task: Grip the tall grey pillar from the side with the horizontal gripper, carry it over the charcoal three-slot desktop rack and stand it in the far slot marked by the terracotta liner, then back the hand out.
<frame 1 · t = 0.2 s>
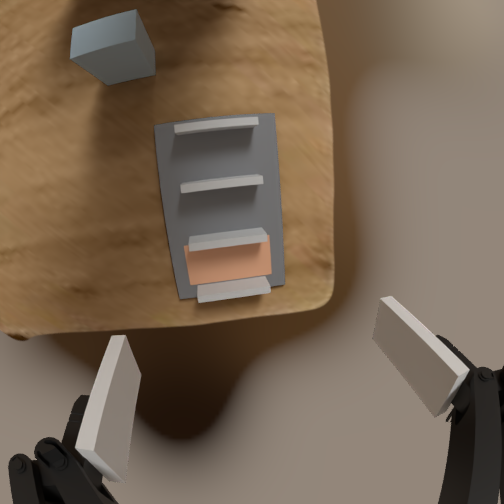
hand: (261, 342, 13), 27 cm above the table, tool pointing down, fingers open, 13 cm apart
rack: (222, 207, 38), on the table
tall grey pillar: (130, 67, 29), on the table
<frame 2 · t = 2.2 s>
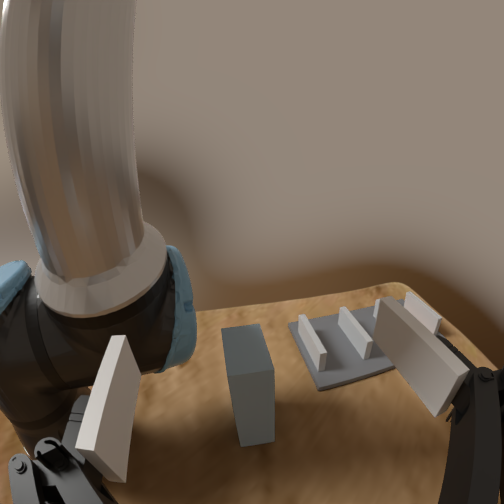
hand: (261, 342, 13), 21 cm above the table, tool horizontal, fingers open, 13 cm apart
rack: (370, 338, 43), on the table
tall grey pillar: (252, 422, 30), on the table
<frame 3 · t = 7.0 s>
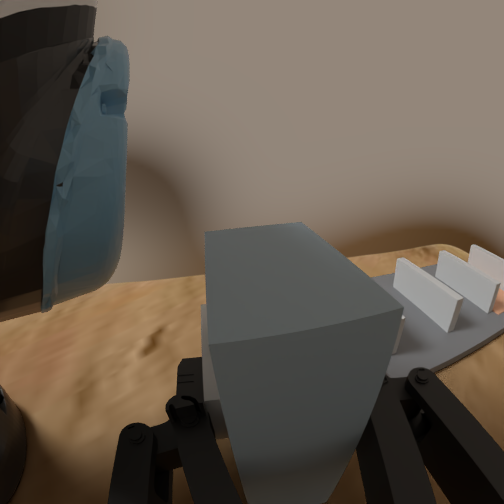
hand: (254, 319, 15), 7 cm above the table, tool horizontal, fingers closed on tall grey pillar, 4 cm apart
rack: (441, 305, 26), on the table
tall grey pillar: (276, 463, 13), on the table, touching gripper
when the fingers open (10 cm above the table, at t = 12.4 s): tall grey pillar drops 1 cm, resting on rack.
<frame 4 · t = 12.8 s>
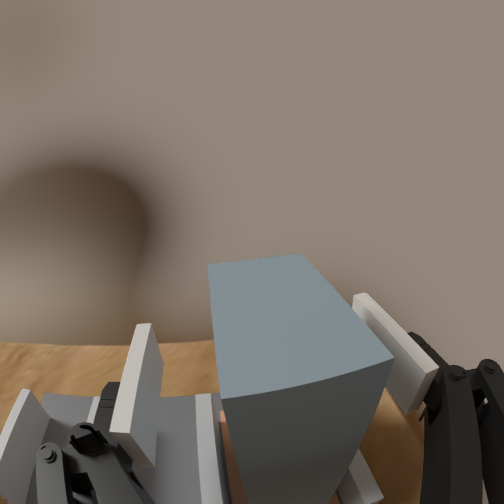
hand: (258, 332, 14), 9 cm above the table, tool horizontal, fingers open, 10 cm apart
rack: (164, 485, 13), on the table
tall grey pillar: (277, 472, 13), point 1 cm above the table, touching rack
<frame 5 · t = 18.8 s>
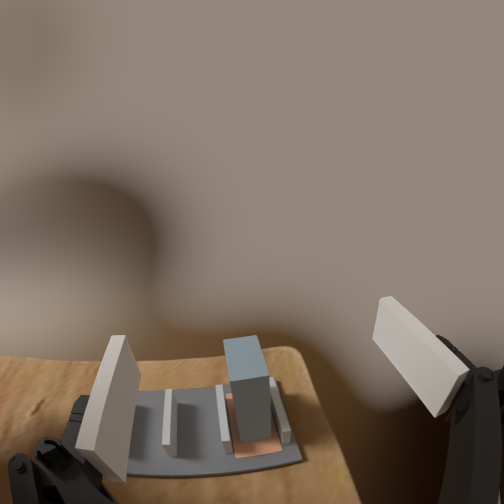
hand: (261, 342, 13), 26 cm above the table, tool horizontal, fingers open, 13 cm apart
rack: (200, 430, 33), on the table
tall grey pillar: (251, 421, 34), point 1 cm above the table, touching rack
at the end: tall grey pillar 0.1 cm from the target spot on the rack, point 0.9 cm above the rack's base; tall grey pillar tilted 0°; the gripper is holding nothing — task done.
